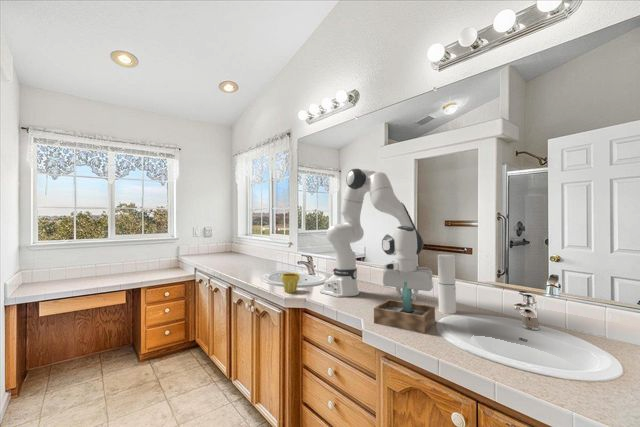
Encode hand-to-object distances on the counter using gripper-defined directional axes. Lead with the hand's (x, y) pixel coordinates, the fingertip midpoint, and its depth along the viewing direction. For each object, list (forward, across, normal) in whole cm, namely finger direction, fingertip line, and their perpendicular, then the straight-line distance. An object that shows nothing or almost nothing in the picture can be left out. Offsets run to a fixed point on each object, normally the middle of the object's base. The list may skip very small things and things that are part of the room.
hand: (407, 299), depth 125 cm
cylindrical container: (+9, -11, -21) cm, 25 cm away
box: (+9, 0, +3) cm, 9 cm away
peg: (+5, 0, 0) cm, 5 cm away
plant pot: (+8, +73, -11) cm, 75 cm away
